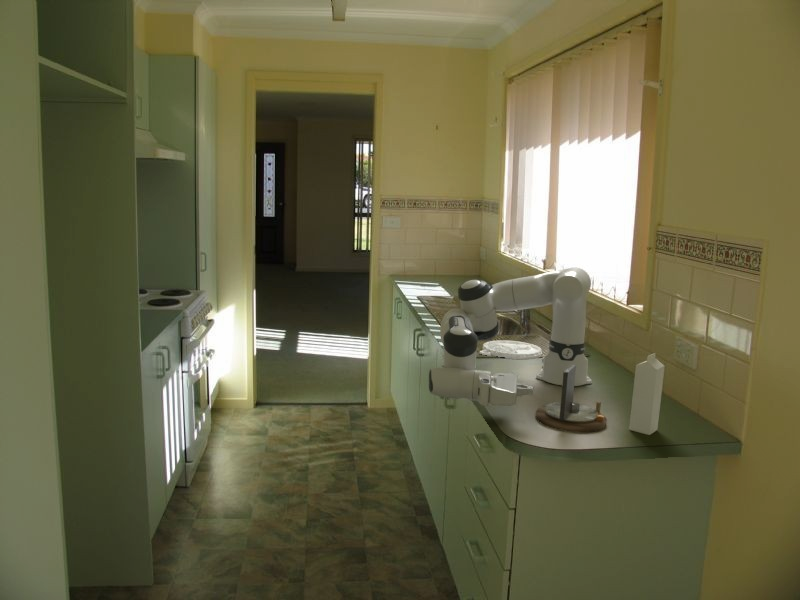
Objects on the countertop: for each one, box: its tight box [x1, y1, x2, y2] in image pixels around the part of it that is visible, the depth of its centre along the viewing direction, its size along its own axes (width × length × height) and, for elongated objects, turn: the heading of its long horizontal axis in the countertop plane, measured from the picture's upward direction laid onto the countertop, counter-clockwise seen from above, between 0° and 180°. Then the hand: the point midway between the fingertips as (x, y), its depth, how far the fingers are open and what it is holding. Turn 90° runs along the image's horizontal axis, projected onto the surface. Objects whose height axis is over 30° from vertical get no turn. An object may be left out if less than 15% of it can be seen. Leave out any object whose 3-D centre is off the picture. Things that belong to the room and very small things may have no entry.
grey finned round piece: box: [544, 365, 605, 423], centre depth 206 cm, size 18×17×15 cm
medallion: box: [479, 339, 543, 360], centre depth 287 cm, size 24×27×2 cm
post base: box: [535, 401, 607, 433], centre depth 209 cm, size 20×20×5 cm
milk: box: [628, 352, 666, 436], centre depth 202 cm, size 6×6×22 cm
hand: (533, 390), depth 204 cm, fingers closed
